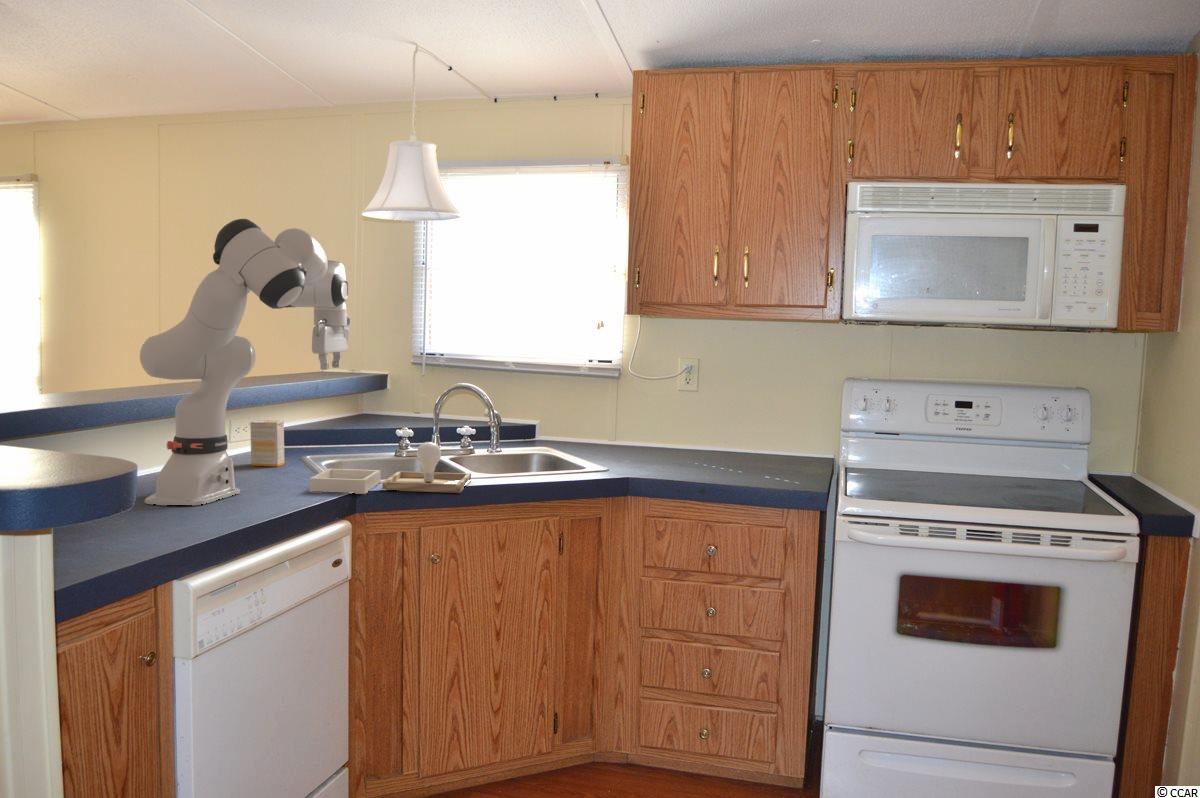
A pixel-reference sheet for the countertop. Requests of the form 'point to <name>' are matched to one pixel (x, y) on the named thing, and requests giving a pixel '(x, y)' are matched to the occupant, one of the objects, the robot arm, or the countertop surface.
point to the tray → (417, 483)
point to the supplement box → (267, 443)
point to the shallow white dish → (345, 480)
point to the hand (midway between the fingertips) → (330, 368)
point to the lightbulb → (428, 459)
